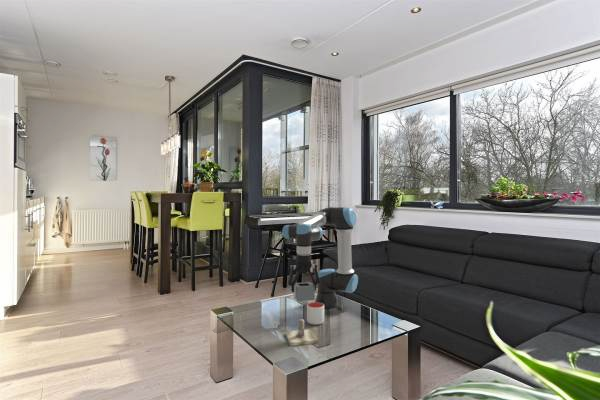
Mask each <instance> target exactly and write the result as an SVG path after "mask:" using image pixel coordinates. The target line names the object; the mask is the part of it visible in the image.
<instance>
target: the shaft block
mask: <svg viewBox="0 0 600 400" xmlns="http://www.w3.org/2000/svg"><path fill="white" fill-rule="evenodd" d="M284 336H285V337H286V340H287V342H288V344H289V346H290V347H292V346H303V345H310V344H311V345H312V344H313V345H314V344H319V339H318V338H317V336H316V334H315V333H314V331H312V329H311V328H310V329H309V328H308V329H305V319H302V318H299V319H297V330H291V331H284Z"/></svg>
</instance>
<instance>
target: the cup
mask: <svg viewBox="0 0 600 400" xmlns="http://www.w3.org/2000/svg"><path fill="white" fill-rule="evenodd" d="M306 322H307V323H308V324H310V325H312V326H316V325H317V326H318V325H322V324H323V323H324V322H325V308H324V304H322V303H318V302H315V301H313V302H308V303H307V304H306Z"/></svg>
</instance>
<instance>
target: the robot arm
mask: <svg viewBox="0 0 600 400" xmlns="http://www.w3.org/2000/svg"><path fill="white" fill-rule="evenodd" d="M356 225H357V215H356V212H355V210H354V209H353V208H351V207H345V206H344V207H343V206H342V207H334V206H333V207H332V206H331V207H325V208H323V209H320V210H317V211H316V212H314V213H313V214H312V215H311V216H309V217H307V218H304V219H303V220H301V221H299V222H296V223H294V224H286V225H284V226H283V228H282V230H281V231H282V232H281V233H282V236H283V238H284V239H288V240H296V264H294V265H292V264H291V265H290V266H289V267H290V272H289V275H288V280H287V285H289V286H291V287H290V288H291V289H290V291H291V292H292V298H293V299H294V300H296V286H295V283H297V281H298V279H299V277H300V275H301V273H307V274H308V276H309V278H310V280H311V283H312V284H313V285H314V286H315V292H316V291H317V294H316V295H315V300H314V302H318V303H322V304H324V309H330V308H331V309H333V308H336V307H338V306H339V301H338V300H339V299H338V298H337V294H336V292H337V291H338V292H343V293H350V294H351V293H352V294H353V293H354V292H355V290H357V287H358V284H359V275H357V274H356V273H355V269H353V260H352V259H353V258H352V257H353V256H352V230H354V227H355V226H356ZM324 226H334V230H335V231H336V236H337V241H336V242H337V260H338V261H337V262H338V263H337V265H338V268H337V269H334V268H325V269H321V270H318V264H317V263H314V264H313V263H312V255H311V254H312V242H313V241H318V240H320V239H322V237H323V234H324V230H323V229H322V227H324ZM311 268H312V269H313V273H314V276H313V274H312V272H311ZM296 269H297V270H296ZM295 270H296V273H295V275H294V272H295ZM293 276H294V277H293Z"/></svg>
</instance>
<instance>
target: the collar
mask: <svg viewBox="0 0 600 400" xmlns="http://www.w3.org/2000/svg"><path fill="white" fill-rule="evenodd" d="M295 286H296V299H295V301H297V302H307V301H315V300H316V294H315V293H316V291H315V286H314V285H313V283H312V282H311V281H308V282H296V283H295Z"/></svg>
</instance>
